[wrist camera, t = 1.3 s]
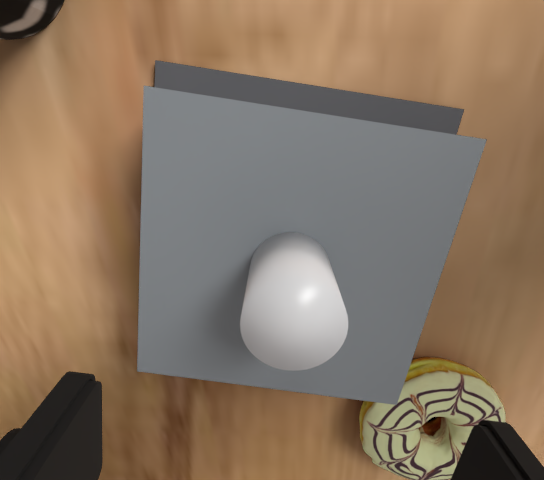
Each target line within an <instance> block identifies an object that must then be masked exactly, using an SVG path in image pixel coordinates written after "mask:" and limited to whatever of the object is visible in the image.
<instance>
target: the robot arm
mask: <svg viewBox="0 0 544 480" xmlns="http://www.w3.org/2000/svg"><path fill="white" fill-rule="evenodd" d="M101 468H102V385H101V382H99V381H95V376H94V375H93V374H86V373H78V372H67V373H66V374H65V375H64V376H63V377H62V378H61V380H60V381H59V382H58V383H57V385H56V386H55V387H54V388H53V390H52V391H51V392H50V393H49V395H48V396H47V397H46V398H45V400H44V401H43V402H42V403H41V405H40V406H39V407H38V408H37V410H36V411H35V412H34V413H33V415H32V416H31V417H30V418H29V420H28V421H27V422H26V423H25V424H24V426H23V427H22V428H21V429H19V428H18V429H13V430H11V431H10V432H8V433H7V434H6V435H5V436H4V437H3V438H2V439H1V440H0V480H98V478H99V475H100V472H101ZM451 480H544V467H543V466H542V465H541V463H540V462H539V461H538V459H537V458H536V457H535V456H534V454H533V453H532V452H531V450H530V449H529V448H528V447H527V445H526V444H525V443H524V441H523V440H522V439H521V438H520V436H519V435H518V434H517V432H516V431H515V430H514V429H513V427H512V426H511V425H510V424H508V423H506V422H497V421H489V420H482V421H480V422H479V423H478V425H475V426H474V427H473V428H472V430H471V433H470V435H469V437H468V440H467V442H466V444H465V447H464V449H463V451H462V454H461V456H460V459H459V461H458V463H457V466H456V468H455V470H454V473H453V475H452V477H451Z"/></svg>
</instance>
